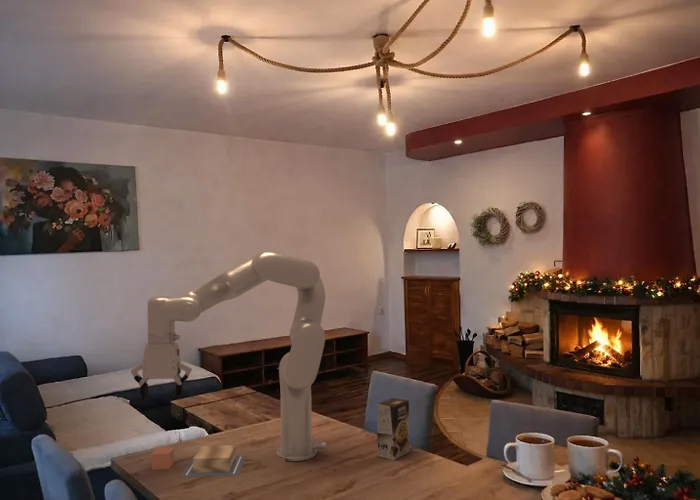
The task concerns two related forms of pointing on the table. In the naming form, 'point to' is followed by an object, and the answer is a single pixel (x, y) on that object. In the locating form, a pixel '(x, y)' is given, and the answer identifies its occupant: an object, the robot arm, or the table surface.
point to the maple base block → (214, 459)
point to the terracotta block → (163, 458)
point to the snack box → (392, 428)
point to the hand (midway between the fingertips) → (161, 397)
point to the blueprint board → (233, 471)
